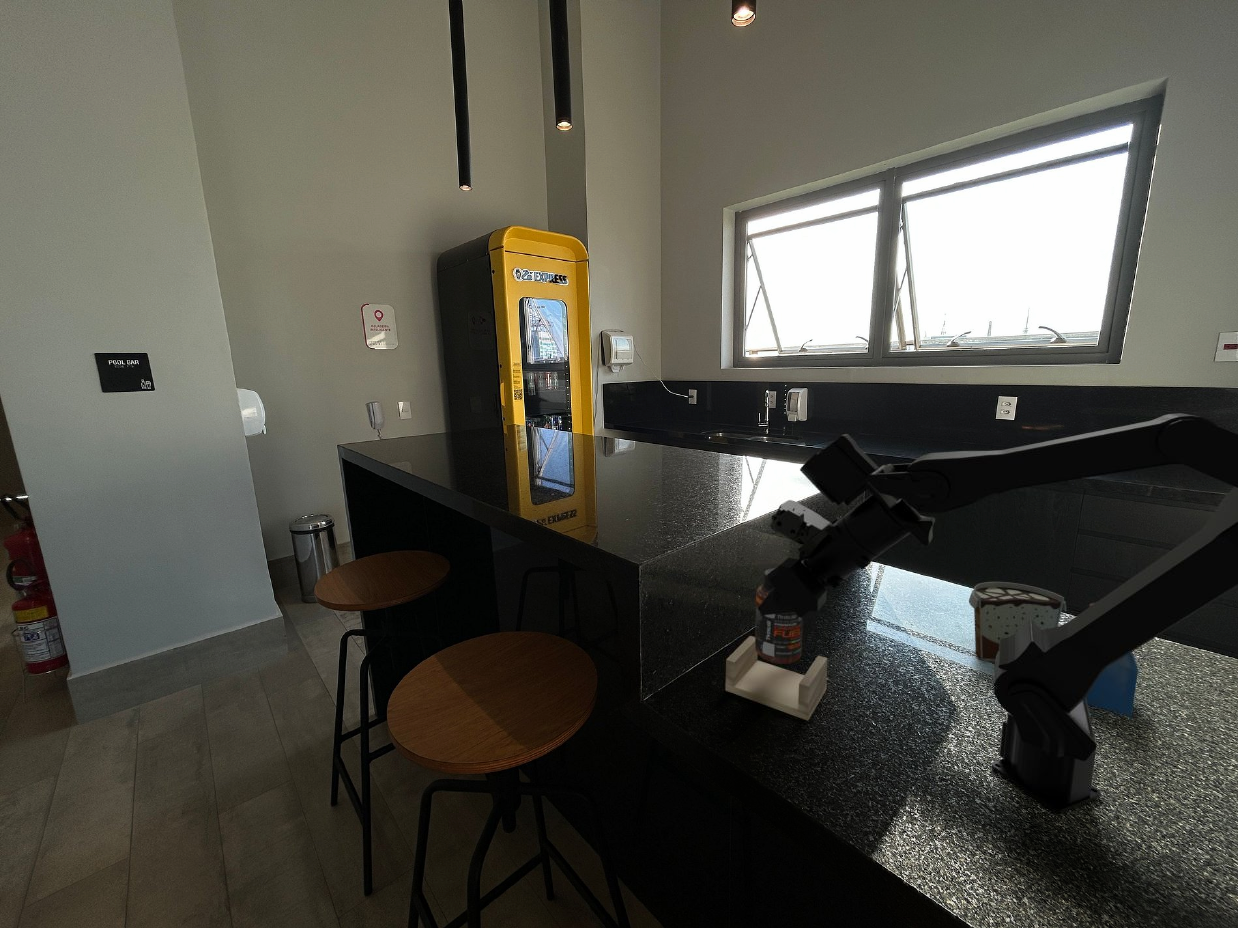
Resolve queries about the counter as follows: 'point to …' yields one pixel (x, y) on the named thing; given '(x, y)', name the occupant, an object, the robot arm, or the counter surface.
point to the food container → (1010, 612)
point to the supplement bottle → (777, 631)
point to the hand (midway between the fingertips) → (769, 602)
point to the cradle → (775, 682)
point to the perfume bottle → (1116, 686)
